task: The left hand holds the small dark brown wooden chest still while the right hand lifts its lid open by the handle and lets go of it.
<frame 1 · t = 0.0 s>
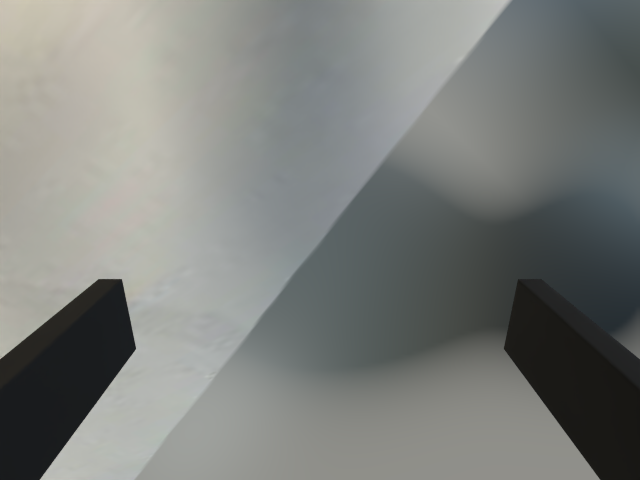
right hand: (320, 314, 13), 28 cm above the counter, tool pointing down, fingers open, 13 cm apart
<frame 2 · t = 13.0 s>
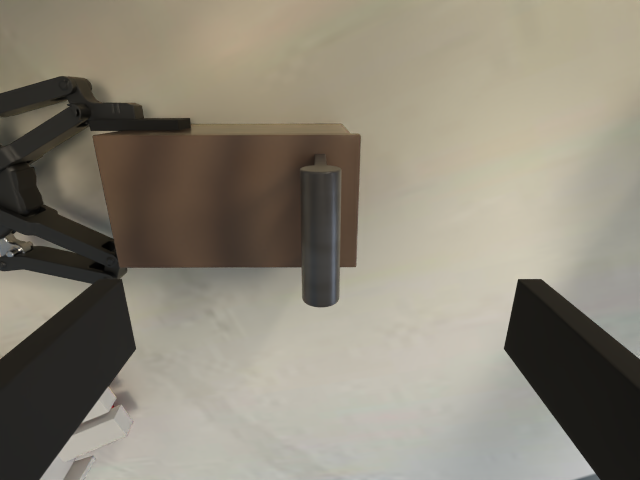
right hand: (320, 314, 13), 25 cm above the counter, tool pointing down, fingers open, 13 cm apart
left hand: (192, 188, 31), fingers closed on chest, 9 cm apart
lid: (221, 219, 23), point 15 cm above the counter, hinge at 0.0°
chest: (255, 174, 36), on the counter, touching left hand
toy: (27, 415, 47), on the counter
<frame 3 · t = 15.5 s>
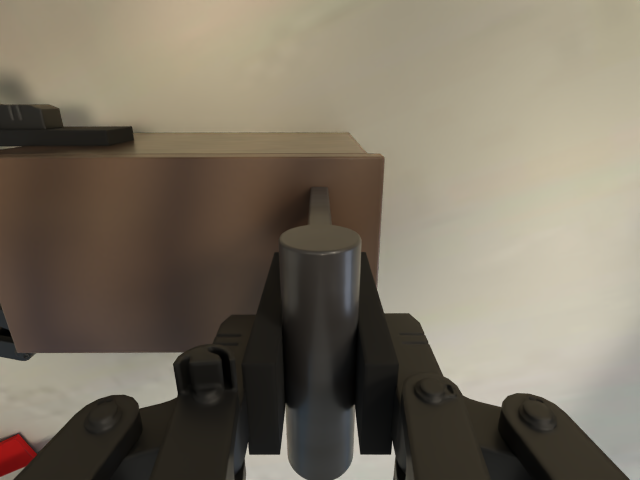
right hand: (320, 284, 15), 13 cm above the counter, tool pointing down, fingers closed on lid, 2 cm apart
lid: (152, 301, 13), point 15 cm above the counter, hinge at -0.1°, touching right hand
chest: (232, 199, 27), on the counter, touching left hand
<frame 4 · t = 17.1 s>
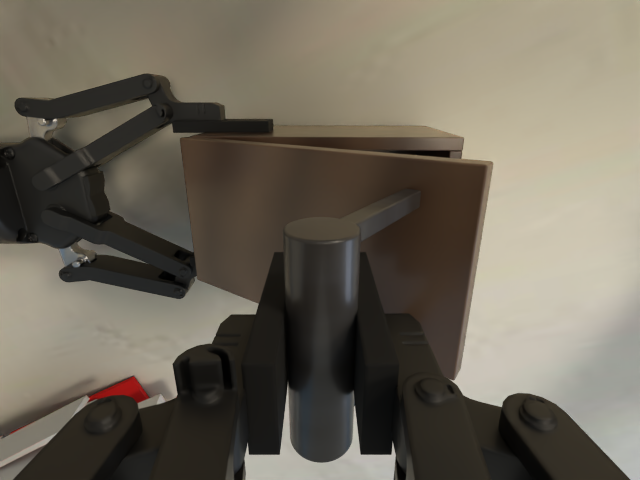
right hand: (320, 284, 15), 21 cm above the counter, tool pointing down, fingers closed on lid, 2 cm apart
left hand: (273, 194, 29), fingers closed on chest, 9 cm apart
lid: (251, 261, 17), point 19 cm above the counter, hinge at 32.5°, touching right hand
chest: (328, 178, 34), on the counter, touching left hand
toy: (73, 429, 45), on the counter
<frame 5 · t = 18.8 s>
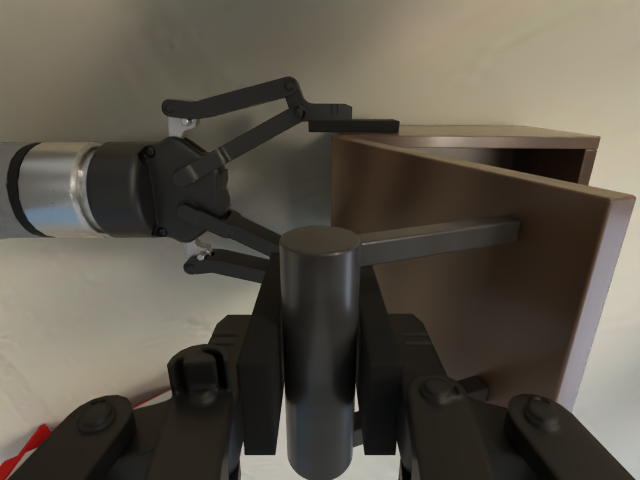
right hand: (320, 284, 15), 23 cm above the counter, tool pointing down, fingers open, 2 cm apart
left hand: (391, 190, 30), fingers closed on chest, 9 cm apart
lid: (338, 261, 17), point 20 cm above the counter, hinge at 66.5°
chest: (425, 176, 36), on the counter, touching left hand
toy: (155, 418, 47), on the counter
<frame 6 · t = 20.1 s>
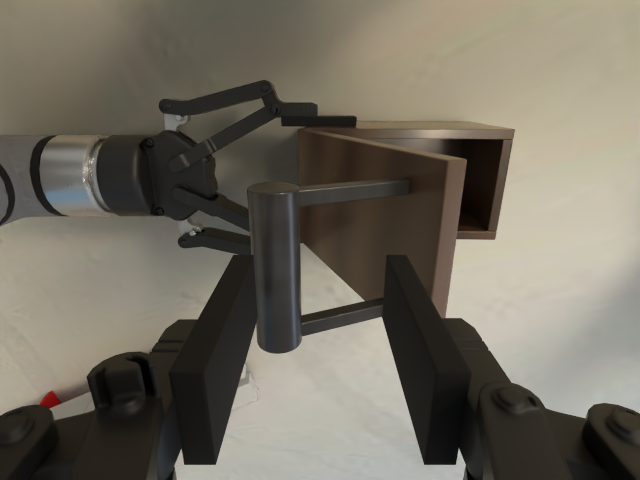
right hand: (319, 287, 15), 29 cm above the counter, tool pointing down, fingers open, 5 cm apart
left hand: (353, 175, 36), fingers closed on chest, 9 cm apart
lid: (298, 221, 22), point 20 cm above the counter, hinge at 64.8°
chest: (387, 165, 41), on the counter, touching left hand
toy: (152, 385, 52), on the counter
when the left hand's fingers open (6 cm above the counter, at t = 22.8 s): chest stays where it is, on the counter.
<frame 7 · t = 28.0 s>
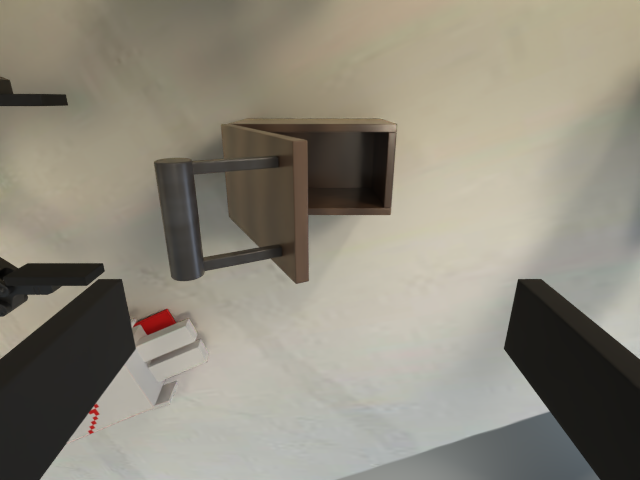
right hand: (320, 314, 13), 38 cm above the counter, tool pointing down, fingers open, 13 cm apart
lid: (211, 194, 29), point 20 cm above the counter, hinge at 62.6°
chest: (313, 156, 48), on the counter
toy: (119, 352, 59), on the counter
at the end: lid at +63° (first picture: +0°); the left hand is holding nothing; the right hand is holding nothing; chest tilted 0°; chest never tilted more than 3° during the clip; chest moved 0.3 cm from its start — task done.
